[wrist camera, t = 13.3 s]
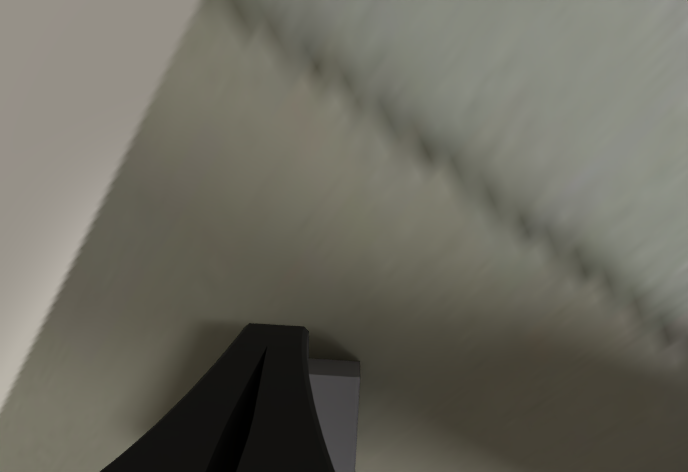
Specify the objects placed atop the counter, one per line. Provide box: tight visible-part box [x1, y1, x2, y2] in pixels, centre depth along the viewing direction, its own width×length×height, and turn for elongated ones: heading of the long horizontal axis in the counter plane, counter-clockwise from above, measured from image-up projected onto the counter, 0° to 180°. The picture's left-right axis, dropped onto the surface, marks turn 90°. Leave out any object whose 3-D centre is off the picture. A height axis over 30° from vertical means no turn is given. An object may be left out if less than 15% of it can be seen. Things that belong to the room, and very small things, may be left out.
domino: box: [308, 358, 360, 472], centre depth 20 cm, size 2×5×9 cm
